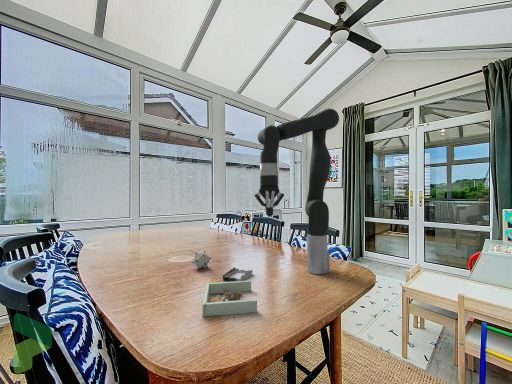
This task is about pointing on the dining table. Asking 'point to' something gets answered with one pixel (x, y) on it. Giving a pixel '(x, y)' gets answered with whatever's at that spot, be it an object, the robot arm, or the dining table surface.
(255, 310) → the frame
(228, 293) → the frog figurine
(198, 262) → the grey spiky ball
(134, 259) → the dining table surface
